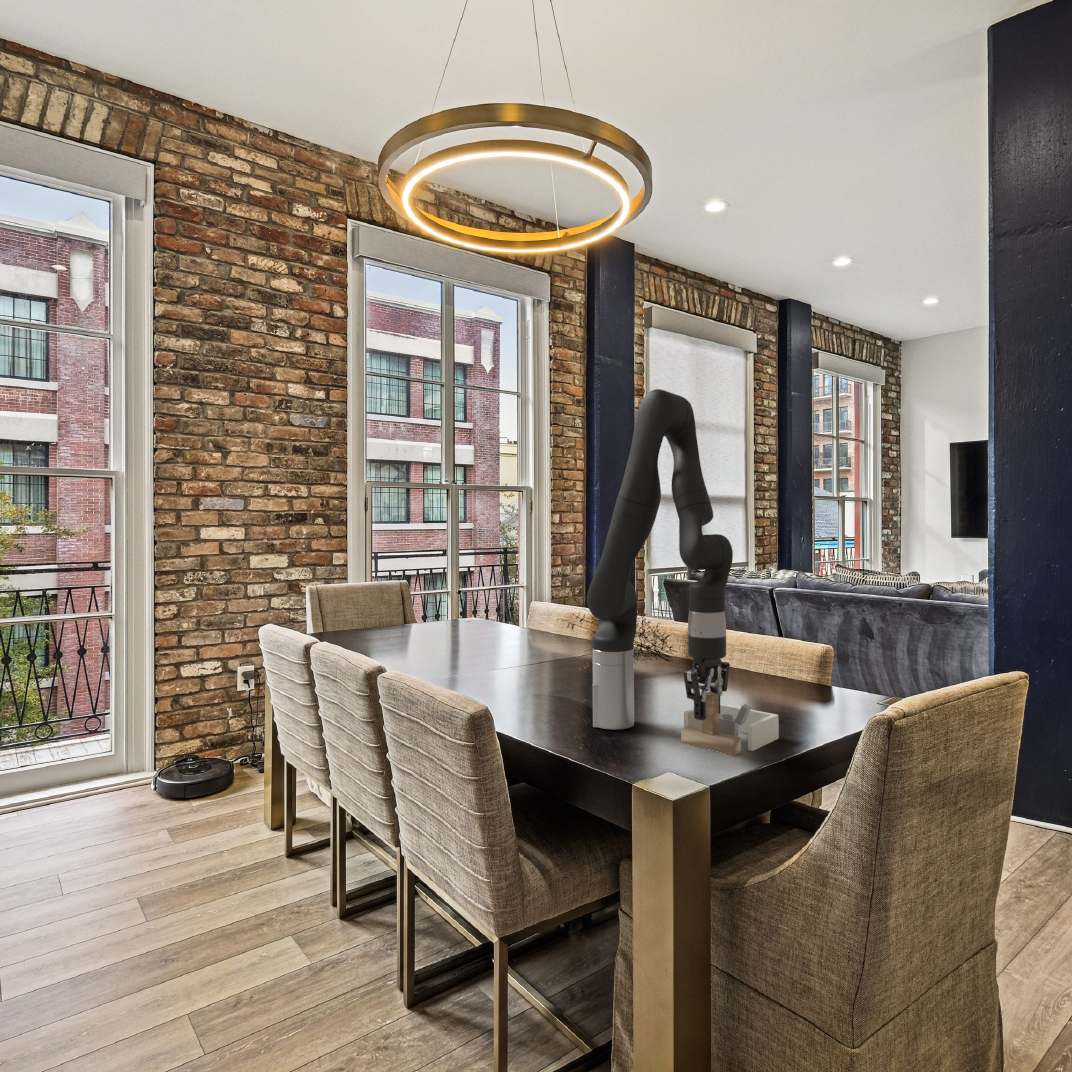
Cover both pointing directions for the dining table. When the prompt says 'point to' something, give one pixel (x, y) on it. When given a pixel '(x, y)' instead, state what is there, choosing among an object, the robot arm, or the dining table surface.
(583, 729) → the dining table surface
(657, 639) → the dried plant
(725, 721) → the lighter
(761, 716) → the box
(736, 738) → the wooden t-shaped post
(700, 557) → the robot arm
